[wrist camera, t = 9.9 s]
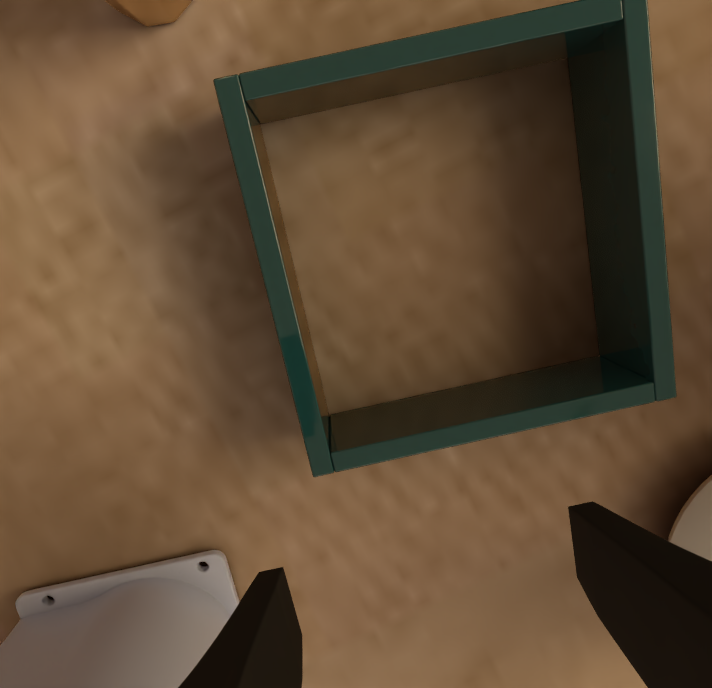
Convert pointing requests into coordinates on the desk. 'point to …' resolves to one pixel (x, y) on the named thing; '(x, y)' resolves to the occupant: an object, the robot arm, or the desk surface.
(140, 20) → the milkshake
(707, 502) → the flower in vase
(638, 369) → the holder
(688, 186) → the desk surface
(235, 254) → the desk surface
